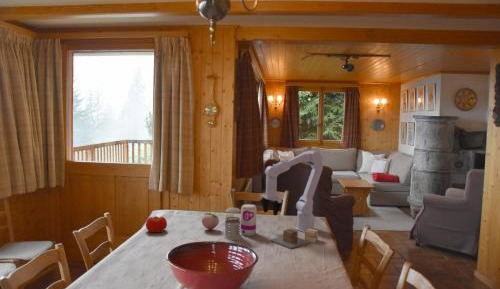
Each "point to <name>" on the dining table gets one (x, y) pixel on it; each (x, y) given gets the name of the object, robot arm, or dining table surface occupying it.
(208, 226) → the decorative fruit
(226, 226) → the french press
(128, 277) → the dining table surface
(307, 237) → the maple cube
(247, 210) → the supplement can
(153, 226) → the tomato
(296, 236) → the walnut cube
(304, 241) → the slate trivet
